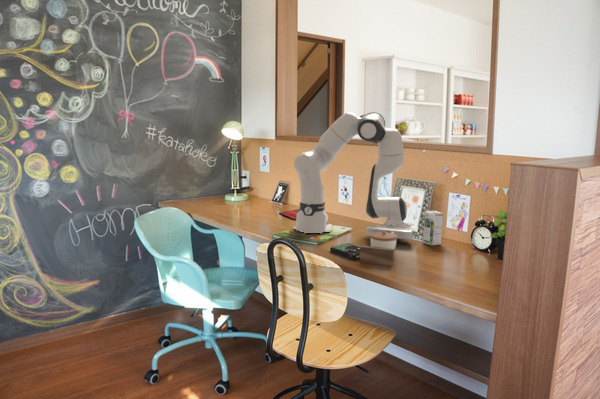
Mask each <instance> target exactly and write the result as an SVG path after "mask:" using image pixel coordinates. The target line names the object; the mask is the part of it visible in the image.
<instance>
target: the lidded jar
mask: <svg viewBox="0 0 600 399" xmlns="http://www.w3.org/2000/svg"><path fill="white" fill-rule="evenodd" d="M369 237H370V246H372V247H382V248H392V249H394V250H395V249H396V246H397V242H398V241H397V240H398V239H397V235H395V234H393V233H387V232H385V231H383V232H375V233H372V234H371V235H370V236H369Z"/></svg>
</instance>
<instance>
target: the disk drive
mask: <svg viewBox="0 0 600 399" xmlns="http://www.w3.org/2000/svg"><path fill="white" fill-rule="evenodd" d="M360 247H361V246H358V245H354V244H353V243H349V242H348V243H342V244H339V245H334V246H331V247H330V253H333V254H335V255H338V256H341V257H343V258H346V259H349V260H351V261H358V260H359V261H360Z"/></svg>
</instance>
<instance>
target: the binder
mask: <svg viewBox="0 0 600 399" xmlns="http://www.w3.org/2000/svg"><path fill="white" fill-rule="evenodd" d="M299 211H300V208H297V209H292V210H287V211H282V212H281V211H280V212H279V213H278V214H279V215H281V216H283V217H286V218H288V219H291V220H292V221H296V218H297V213H298V212H299Z"/></svg>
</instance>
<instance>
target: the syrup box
mask: <svg viewBox="0 0 600 399" xmlns="http://www.w3.org/2000/svg"><path fill="white" fill-rule="evenodd" d="M443 218H444V212H440V211H437V210H427V211H425V212H424V225H423V239H422V243H423V244H426V245H429V246H437V245H441V244H442V235H443V234H442V233H443V220H444V219H443Z"/></svg>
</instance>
